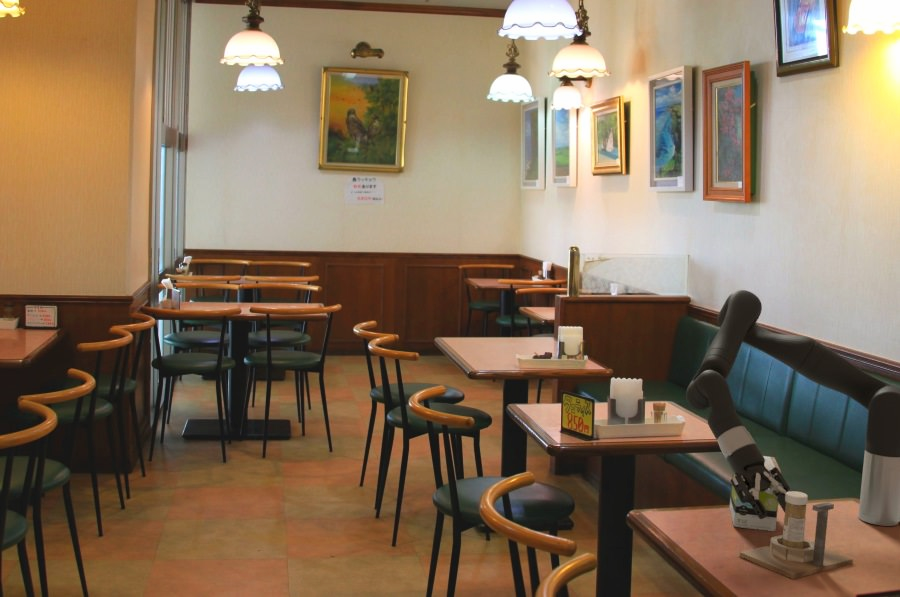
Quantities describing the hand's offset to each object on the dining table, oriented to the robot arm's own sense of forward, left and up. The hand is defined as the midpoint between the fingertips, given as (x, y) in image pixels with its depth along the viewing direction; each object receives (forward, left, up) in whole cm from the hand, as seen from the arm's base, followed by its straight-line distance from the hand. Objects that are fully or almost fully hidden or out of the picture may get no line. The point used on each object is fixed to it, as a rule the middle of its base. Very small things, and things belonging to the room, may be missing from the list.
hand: (777, 514), depth 222 cm
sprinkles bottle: (0, +4, -8) cm, 9 cm away
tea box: (-13, -17, -9) cm, 24 cm away
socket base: (0, +6, -9) cm, 10 cm away
